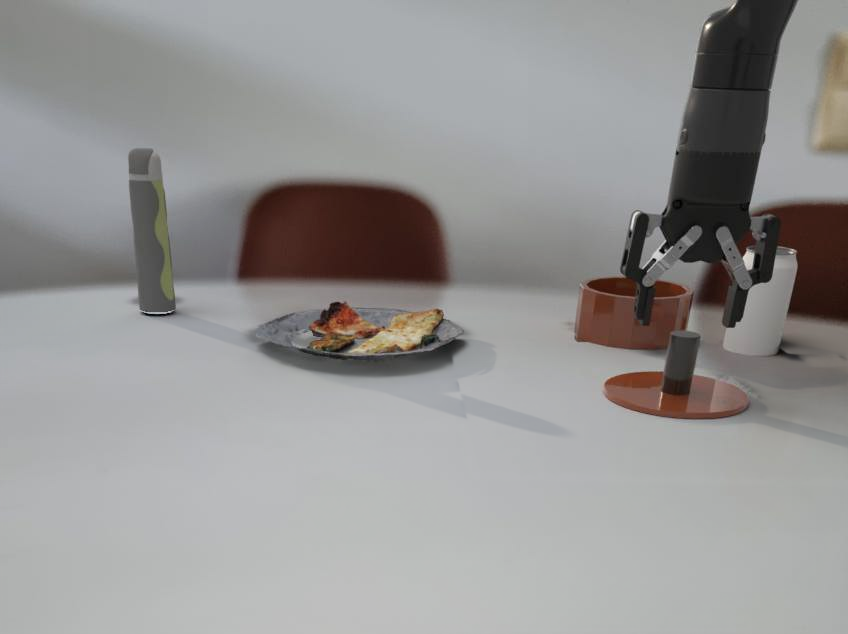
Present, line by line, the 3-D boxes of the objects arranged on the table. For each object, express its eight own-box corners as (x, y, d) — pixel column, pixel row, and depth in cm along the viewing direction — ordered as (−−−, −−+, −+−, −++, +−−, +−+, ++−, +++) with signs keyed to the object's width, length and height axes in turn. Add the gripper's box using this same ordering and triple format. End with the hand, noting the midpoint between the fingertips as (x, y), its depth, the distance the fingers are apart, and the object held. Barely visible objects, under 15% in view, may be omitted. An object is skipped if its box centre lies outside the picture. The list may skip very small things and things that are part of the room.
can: (785, 353, 120) (810, 250, 114) (763, 363, 116) (787, 256, 109) (735, 343, 123) (756, 243, 117) (712, 353, 119) (733, 249, 113)
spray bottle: (182, 310, 134) (169, 148, 124) (165, 317, 130) (151, 150, 120) (150, 307, 135) (135, 146, 125) (133, 314, 131) (116, 149, 121)
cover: (721, 383, 108) (735, 318, 105) (766, 426, 96) (783, 354, 92) (590, 380, 108) (599, 316, 105) (618, 423, 96) (629, 351, 92)
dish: (663, 323, 132) (671, 273, 129) (702, 361, 116) (713, 304, 113) (563, 321, 132) (569, 271, 129) (588, 359, 116) (596, 302, 113)
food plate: (325, 315, 133) (325, 288, 131) (486, 336, 124) (488, 307, 123) (224, 357, 114) (222, 326, 112) (406, 386, 105) (408, 353, 103)
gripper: (782, 144, 93) (744, 318, 101) (632, 140, 93) (607, 315, 101) (811, 150, 86) (768, 336, 95) (651, 146, 86) (622, 332, 95)
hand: (685, 325), depth 98 cm, fingers open, 8 cm apart
